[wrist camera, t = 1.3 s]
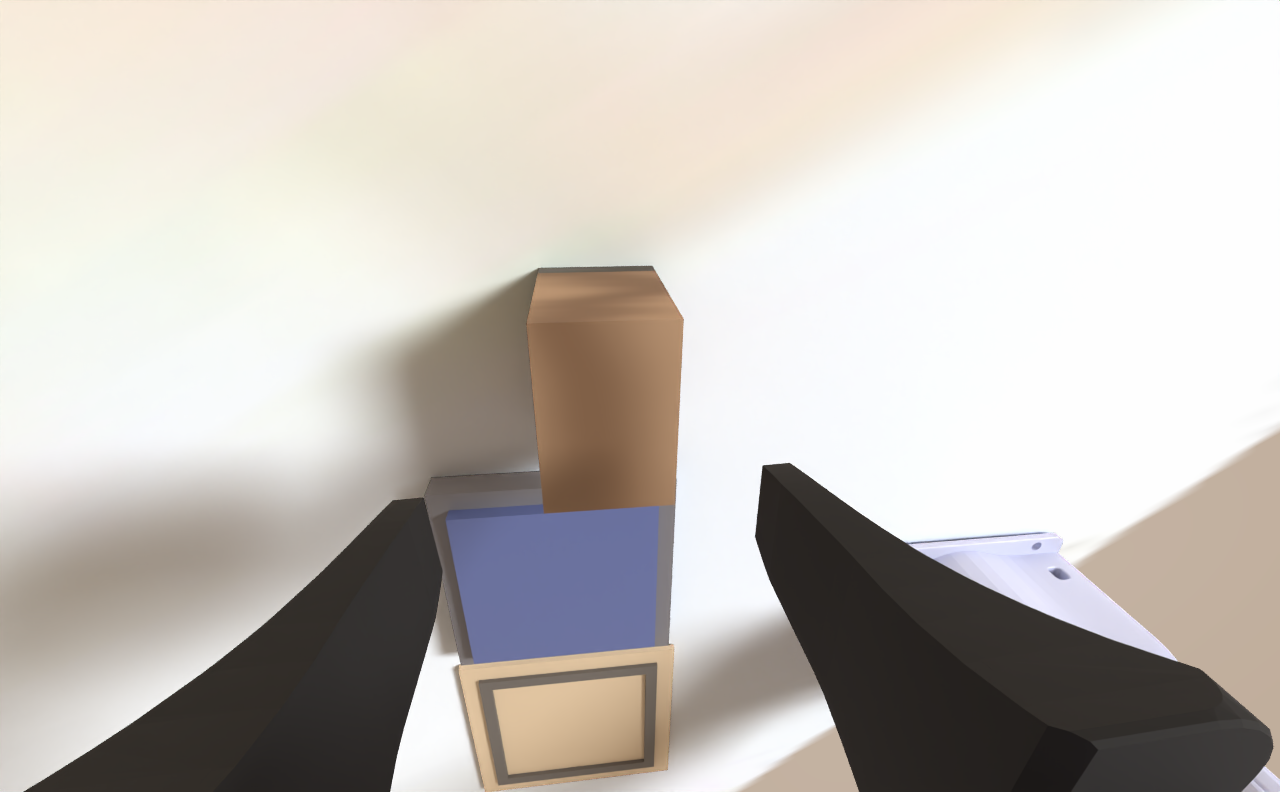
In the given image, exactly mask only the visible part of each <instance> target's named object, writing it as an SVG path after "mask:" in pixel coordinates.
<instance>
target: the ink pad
mask: <svg viewBox="0 0 1280 792" xmlns="http://www.w3.org/2000/svg"><path fill="white" fill-rule="evenodd" d="M676 481H677V480H676ZM424 496H425V501H426V505H427V510H428V515H429V519H430V524H431V528H432V532H433V536H434V539H435V543H436V547H437V551H438V555H439V559H440V562H441V566H442V570H443V573H442V580H443V584H444V589H445V594H446V598H447V603H448V607H449V612H450V617H451V621H452V626H453V631H454V635H455V640H456V645H457V649H458V654H459V658H460V663H461V666H462V665H473V664H483V663H493V662H504V661H514V660H524V659H535V658H545V657H555V656H566V655H576V654H586V653H597V652H607V651H617V650H628V649H638V648H648V647H659V646H669V627H670V606H671V585H672V564H673V544H674V523H675V505H665V506H650V507H635V508H620V509H605V510H591V511H576V512H561V513H546V514H544V510H543V499H542V488H541V478H540V471H536V472H519V473H502V474H485V475H469V476H452V477H435V478H431V480H430V483H429V485H428V488H427V490H426V493H425V495H424ZM675 502H676V489H675Z"/></svg>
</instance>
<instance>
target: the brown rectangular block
mask: <svg viewBox="0 0 1280 792" xmlns="http://www.w3.org/2000/svg"><path fill="white" fill-rule="evenodd" d="M683 321H684V319H683V317H682V315H681V314H680V312H679V310H678V309H677V307H676V305H675V304H674V302H673V300H672V299H671V297H670V295H669V293H668V292H667V290H666V288H665V287H664V285H663V283H662V282H661V280H660V278H659V276H658V275H657V273H656V271H655V270H654V268H653V266H616V267H563V268H539V270H538V274H537V279H536V283H535V287H534V292H533V296H532V301H531V305H530V310H529V314H528V318H527V323H526V326H527V337H528V348H529V358H530V369H531V380H532V391H533V402H534V413H535V423H536V434H537V445H538V456H539V467H540V478H541V488H542V499H543V510H544V514H546V513H561V512H576V511H591V510H605V509H620V508H635V507H650V506H665V505H675V489H676V468H677V447H678V426H679V405H680V384H681V363H682V342H683Z"/></svg>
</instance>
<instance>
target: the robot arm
mask: <svg viewBox="0 0 1280 792" xmlns="http://www.w3.org/2000/svg"><path fill="white" fill-rule="evenodd" d="M755 538H756V541H757V544H758V548H759V551H760V554H761V557H762V560H763V563H764V566H765V569H766V571H767V574H768V577H769V580H770V582H771V584H772V586H773V588H774V590H775V593H776V595H777V597H778V599H779V601H780V603H781V605H782V607H783V609H784V611H785V613H786V615H787V617H788V620H789V622H790V624H791V626H792V628H793V630H794V632H795V634H796V636H797V638H798V640H799V642H800V644H801V646H802V648H803V650H804V652H805V654H806V656H807V659H808V661H809V663H810V665H811V667H812V669H813V671H814V673H815V675H816V678H817V680H818V682H819V684H820V687H821V689H822V691H823V694H824V696H825V699H826V701H827V704H828V707H829V709H830V712H831V715H832V717H833V720H834V723H835V725H836V728H837V731H838V733H839V736H840V739H841V741H842V744H843V747H844V750H845V753H846V755H847V758H848V761H849V764H850V767H851V770H852V772H853V775H854V778H855V781H856V784H857V787H858V790H859V792H1280V779H1278V778H1277V777H1276V776H1275V775H1274V774H1273V773H1272V772H1271V771H1269V770H1268V769H1267V768H1266V767H1265V765H1266V763H1267V762H1268V761H1269V759H1270V756H1271V753H1272V750H1273V740H1272V736H1271V732H1270V729H1269V728H1268V727H1267V726H1266V725H1264V724H1263V723H1262V722H1261V721H1260V720H1259V719H1257V718H1256V717H1255V716H1254V715H1253V714H1252V713H1250V712H1249V711H1248V710H1247V709H1246V708H1245V707H1244V706H1242V705H1241V704H1240V703H1239V702H1238V701H1237V700H1235V699H1234V698H1233V697H1232V696H1231V695H1230V694H1229V693H1227V692H1226V691H1225V690H1224V689H1223V688H1222V687H1221V686H1219V685H1218V684H1217V683H1216V682H1215V681H1214V680H1212V679H1211V678H1210V677H1209V676H1207V674H1205V673H1204V672H1203V671H1202V670H1200V669H1198V668H1195V667H1192V666H1189V665H1186V664H1183V663H1180V662H1178V661H1177V660H1176V658H1175V657H1174V656H1173V655H1172V654H1171V652H1170V651H1169V650H1168V649H1167V648H1166V647H1165V646H1164V645H1163V644H1162V643H1161V642H1160V641H1159V640H1158V639H1156V638H1155V637H1154V636H1153V635H1152V634H1151V633H1150V632H1149V631H1147V630H1146V629H1145V628H1144V627H1143V626H1142V625H1141V624H1139V623H1138V622H1137V621H1136V620H1135V619H1134V618H1132V617H1131V616H1130V615H1129V614H1128V613H1127V612H1126V611H1124V610H1123V609H1122V608H1121V607H1120V606H1119V605H1118V604H1116V603H1115V602H1114V601H1113V600H1112V599H1111V598H1109V597H1108V596H1107V595H1106V594H1105V593H1104V592H1103V591H1101V590H1100V589H1099V588H1098V587H1097V586H1096V585H1095V584H1093V583H1092V582H1091V581H1090V580H1089V579H1088V578H1087V577H1085V576H1084V575H1083V574H1082V573H1081V572H1080V571H1078V570H1077V569H1076V568H1075V567H1074V566H1073V565H1072V564H1070V563H1069V562H1068V561H1067V560H1066V559H1065V558H1064V557H1062V556H1061V555H1060V554H1059V553H1058V552H1059V550H1060V548H1061V546H1062V544H1063V539H1062V538H1061V537H1060V536H1059V535H1058V534H1056V533H1044V534H1031V535H1019V536H1006V537H993V538H981V539H968V540H956V541H943V542H931V543H918V544H907V543H905V542H903V541H902V540H900V539H898V538H897V537H895V536H894V535H892V534H890V533H889V532H887V531H886V530H884V529H883V528H881V527H880V526H878V525H877V524H875V523H874V522H872V521H871V520H869V519H868V518H866V517H865V516H863V515H862V514H860V513H859V512H857V511H856V510H855V509H853V508H852V507H850V506H849V505H847V504H846V503H845V502H843V501H842V500H840V499H839V498H838V497H836V496H835V495H834V494H832V493H831V492H829V491H828V490H827V489H825V488H824V487H823V486H821V485H820V484H818V483H817V482H816V481H814V480H813V479H812V478H810V477H809V476H808V475H806V474H805V473H803V472H802V471H801V470H799V469H798V468H796V467H795V466H793V465H792V464H790V463H784V464H773V465H763V467H762V477H761V486H760V496H759V505H758V514H757V524H756V533H755ZM442 573H443V570H442V566H441V562H440V559H439V555H438V551H437V547H436V543H435V539H434V536H433V532H432V528H431V524H430V520H429V517H428V513H427V509H426V505H425V501H424V498H414V499H403V500H393V501H392V502H391V503H390V504H389V505H388V506H387V507H386V508H385V509H384V510H383V511H382V512H381V513H380V514H379V515H378V516H377V517H376V518H375V519H374V520H373V521H372V522H371V523H370V524H369V525H368V526H367V527H366V528H365V529H364V530H363V531H362V532H361V533H360V534H359V535H358V536H357V537H356V538H355V539H354V540H353V541H352V542H351V543H350V544H349V545H348V546H347V547H346V548H345V549H344V550H343V551H342V552H341V553H340V554H339V555H338V556H337V557H336V558H335V559H334V560H333V561H332V562H331V563H330V564H329V565H328V566H327V567H326V568H325V569H324V570H323V571H322V572H321V573H320V574H319V575H318V576H317V577H316V578H315V579H314V580H312V581H311V582H310V583H309V584H308V585H307V586H306V587H305V588H304V589H303V590H302V591H300V592H299V593H298V594H297V595H296V596H295V597H294V598H293V599H292V600H291V601H289V602H288V603H287V604H286V605H285V606H284V607H283V608H282V609H281V610H280V611H279V612H277V613H276V614H275V615H274V616H273V617H272V618H271V619H269V620H268V621H267V622H266V623H265V624H264V625H262V626H261V627H260V628H259V629H258V630H256V631H255V632H254V633H253V634H252V635H250V636H249V637H248V638H247V639H246V640H244V641H243V642H242V643H241V644H239V645H238V646H237V647H235V648H234V649H233V650H232V651H230V652H229V653H228V654H227V655H225V656H224V657H223V658H222V659H220V660H219V661H218V662H216V663H215V664H214V665H213V666H211V667H210V668H209V669H207V670H206V671H205V672H203V673H202V674H201V675H199V676H198V677H196V678H195V679H194V680H192V681H191V682H189V683H188V684H187V685H185V686H184V687H182V688H181V689H179V690H178V691H177V692H175V693H174V694H172V695H171V696H170V697H168V698H167V699H165V700H164V701H163V702H161V703H160V704H158V705H157V706H156V707H154V708H153V709H151V710H150V711H149V712H147V713H146V714H144V715H143V716H142V717H140V718H139V719H137V720H136V721H134V722H133V723H131V724H130V725H128V726H127V727H125V728H124V729H122V730H121V731H119V732H118V733H116V734H115V735H113V736H112V737H110V738H109V739H107V740H106V741H104V742H102V743H101V744H99V745H98V746H96V747H95V748H93V749H92V750H90V751H89V752H87V753H85V754H84V755H82V756H81V757H79V758H77V759H76V760H74V761H73V762H71V763H69V764H68V765H66V766H65V767H63V768H61V769H60V770H58V771H57V772H55V773H54V774H52V775H50V776H49V777H47V778H45V779H44V780H42V781H41V782H39V783H37V784H36V785H34V786H32V787H31V788H29V789H27V790H26V791H24V792H390V789H391V784H392V779H393V774H394V769H395V763H396V758H397V754H398V750H399V746H400V742H401V738H402V734H403V729H404V726H405V723H406V719H407V716H408V712H409V709H410V705H411V702H412V699H413V695H414V692H415V688H416V685H417V681H418V678H419V675H420V671H421V668H422V664H423V661H424V657H425V654H426V650H427V647H428V643H429V640H430V636H431V633H432V629H433V626H434V622H435V618H436V612H437V606H438V601H439V594H440V587H441V580H442Z"/></svg>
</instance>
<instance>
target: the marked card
mask: <svg viewBox="0 0 1280 792" xmlns="http://www.w3.org/2000/svg"><path fill="white" fill-rule="evenodd" d="M673 663H674V645H673V644H672V645H669V646H659V647H648V648H638V649H628V650H617V651H607V652H597V653H586V654H576V655H566V656H555V657H545V658H535V659H524V660H514V661H504V662H493V663H483V664H473V665H462V666H461V665H459V670H458V671H459V676H460V680H461V685H462V689H463V694H464V698H465V703H466V707H467V712H468V716H469V721H470V726H471V730H472V735H473V739H474V744H475V748H476V753H477V757H478V762H479V766H480V771H481V775H482V780H483V784H484V789H485V792H492V791H500V790H508V789H516V788H524V787H532V786H541V785H549V784H557V783H565V782H573V781H582V780H590V779H598V778H606V777H614V776H622V775H631V774H639V773H647V772H655V771H663V770H668V753H669V735H670V717H671V699H672V681H673Z"/></svg>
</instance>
